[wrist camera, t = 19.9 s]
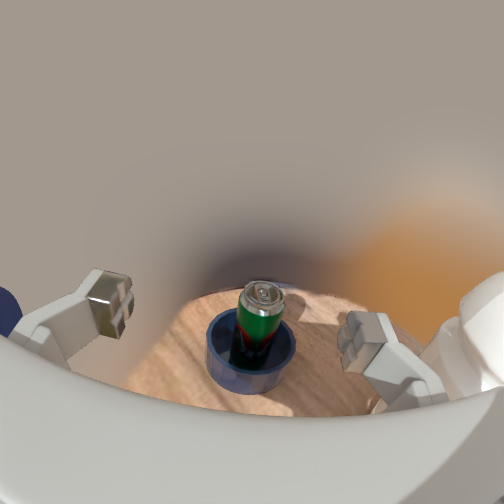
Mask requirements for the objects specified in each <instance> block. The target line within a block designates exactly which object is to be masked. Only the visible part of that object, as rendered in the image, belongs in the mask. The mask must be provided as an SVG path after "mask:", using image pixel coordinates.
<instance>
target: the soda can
mask: <svg viewBox="0 0 504 504" xmlns="http://www.w3.org/2000/svg"><path fill="white" fill-rule="evenodd" d="M284 308H285V301H284V295H283V292H282V290H281V289H280V288H279V287H277V286H276V285H274V284H272V283H269V282H265V281H254V282H251V283H249V284H248V285H247V286H246V287H245V289H244V290H243V291H242V292H241V294H240V296H239V302H238V308H237V314H236V320H235V326H234V332H233V338H232V344H231V350H230V360H231V362H232V363H233V365H234V366H236V367H237V368H239V369H244V370H249V371H258V370H260V369H262V368H263V367H264V366H265V364H266V362H267V360H268V357H269V354H270V351H271V348H272V345H273V342H274V339H275V336H276V333H277V330H278V327H279V324H280V321H281V318H282V314H283V311H284Z"/></svg>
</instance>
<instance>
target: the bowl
mask: <svg viewBox="0 0 504 504" xmlns="http://www.w3.org/2000/svg"><path fill="white" fill-rule="evenodd" d="M236 314H237V308H234V309H229V310H226V311H224V312H223V313H221V314H219V315H217V316H216V317H215V318H214V319H213V321H212V322H211V323H210V324H209V327H208V330H207V333H206V348H205V362H206V367H207V370H208V372H209V374H210V375H211V377H212V378H213V379H214V380H215V381H216V382H217V383H218V384H219V385H220V386H222V387H223V388H225V389H227V390H229V391H231V392H234V393H238V394H244V395H255V394H261V393H265V392H267V391H269V390H271V389H273V388H274V387H276V386H277V385H278V384H279V383H280V382H281V380H282V379H283V377H284V375H285V373H286V371H287V369H288V367H289V365H290V362H291V360H292V358H293V356H294V354H295V351H296V340H295V337H294V335H293V332H292V330H291V329H290V328H289V326H288V325H287V324H286V323H285V322H284V321H283V320H282V319H281V321H280V324H279V327H278V330H277V333H276V336H275V339H274V342H273V345H272V348H271V351H270V354H269V357H268V360H267V362H266V364H265V366H264V367H263V368H262V369H260V370H258V371H249V370H244V369H239V368H237V367H236V366H234V365H233V363H232V362H231V360H230V350H231V344H232V338H233V332H234V326H235V320H236Z"/></svg>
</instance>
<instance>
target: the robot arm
mask: <svg viewBox="0 0 504 504" xmlns="http://www.w3.org/2000/svg"><path fill="white" fill-rule="evenodd" d="M131 286H132V281H131V278H130V277H129V276H126V275H122V274H118V273H114V272H110V271H104V270H101V269H97V268H95V269H93V270H92V271H91V272H90V273H89V275H88V276H87V277H86V278H85V280H84V281H83V282H82V283H81V285H80V286H79V287H78V289H77V290H76V291H75V292H74V294H71V293H70V294H67V295H66V296H63V297H61V298H59V299H57V300H55V301H53V302H51V303H49V304H46V305H45V306H42V307H40V308H38V309H36V310H34V311H32V312H30V313H28V314H26V315H24V316H23V317H22V318H21V319H20V321H19V322H18V324H17V325H16V326H15V328H14V329H13V331H12V332H11V333H10V335H9V336H8V338H6V337H4V336H2V335H1V334H0V504H504V386H498V387H495V388H492V389H489V390H486V391H483V392H480V393H477V394H474V395H470V396H467V397H463V398H460V399H456V400H452V401H450V400H449V398H448V395H447V392H446V390H445V387H444V385H443V382H442V380H441V377H440V376H439V375H438V374H437V373H435V372H434V371H433V370H432V369H431V368H430V367H429V366H428V365H427V364H425V363H424V362H423V361H422V360H421V359H420V358H419V357H418V356H416V355H415V354H414V353H413V352H412V351H411V350H410V349H409V348H407V347H406V346H405V345H404V344H403V343H399V341H398V338H397V336H396V334H395V331H394V329H393V327H392V324H391V322H390V320H389V318H388V316H387V315H386V314H385V313H378V312H374V313H373V312H362V311H350V312H349V313H348V315H347V317H346V320H347V323H346V324H344V325H343V326H341V328H340V330H339V333H338V338H337V345H338V349H339V350H340V351H341V352H342V353H343V355H342V357H341V363H342V367H343V372H352V373H363V375H364V376H365V378H366V379H367V380H368V381H369V383H370V384H371V385H372V387H373V388H374V389H375V390H376V392H377V393H378V394H379V395H380V397H381V398H382V399H383V401H384V402H385V403H386V404H387V406H388V407H387V408H385V409H384V410H383V411H382V412H381V413H379V414H369V415H357V416H340V417H284V416H267V415H255V414H244V413H235V412H227V411H220V410H213V409H207V408H201V407H196V406H190V405H185V404H180V403H175V402H171V401H166V400H162V399H158V398H154V397H150V396H146V395H143V394H139V393H135V392H132V391H129V390H125V389H122V388H119V387H116V386H113V385H110V384H107V383H104V382H101V381H98V380H95V379H92V378H89V377H87V376H84V375H82V374H79V373H77V372H74V371H72V370H71V368H70V366H69V364H68V363H67V361H66V360H67V359H69V358H70V357H71V356H73V355H74V354H75V353H77V352H78V351H79V350H81V349H82V348H83V347H85V346H86V345H87V344H89V343H90V342H91V341H93V340H94V339H95V338H97V337H98V336H99V334H100V335H104V336H107V337H111V338H115V339H120V337H121V335H122V333H123V330H124V329H125V323H124V321H126V320H127V319H129V318H130V316H131V314H132V312H133V307H134V295H133V293H132V292H131V291H130V288H131Z"/></svg>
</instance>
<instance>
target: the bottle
mask: <svg viewBox="0 0 504 504" xmlns="http://www.w3.org/2000/svg"><path fill="white" fill-rule="evenodd" d="M419 358H420V359H421V360H422V361H423V362H424V363H425V364H427V365H428V366H429V367H430V368H431V369H432V370H433V371H434V372H435V373H437V374H438V375H439V376H440V377H441V380H442V382H443V385H444V387H445V390H446V392H447V395H448V398H449V400H450V401H452V400H456V399H460V398H463V397H467V396H470V395H474V394H477V393H480V392H483V391H486V390H489V389H492V388H495V387H498V386H504V271H502V272H499V273H497V274H494V275H493V276H491V277H489V278H487V279H485V280H484V281H482V282H481V283H480V284H479V285H477V286H476V287H475V288H474V289H472V290H471V291H470V292H469V293H468V294H467V295H465V296H464V297H463V298H462V299H461V303H460V309H459V317H451V318H450V319H449V320H447V321H446V322H445V323H443V324H442V325H441V326H440V328H439V329H438V330H437V332H436V334H435V335H434V337H433V338H432V340H431V341H430V342H429V344H428V345H427V346H426V348H425V349H424V350H423V352H422V353H421V354H420V355H419ZM387 407H388V406H387V404H386V403H385V402H384V401H383V399H382V398H380V399H379V401H378V402H377V404H376V405H375V407H374V408H373V410H372V411H371V412H370V414H379V413H381V412H382V411H383V410H384V409H385V408H387Z"/></svg>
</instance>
